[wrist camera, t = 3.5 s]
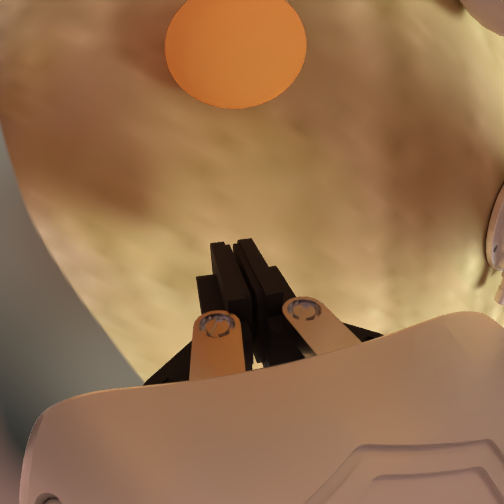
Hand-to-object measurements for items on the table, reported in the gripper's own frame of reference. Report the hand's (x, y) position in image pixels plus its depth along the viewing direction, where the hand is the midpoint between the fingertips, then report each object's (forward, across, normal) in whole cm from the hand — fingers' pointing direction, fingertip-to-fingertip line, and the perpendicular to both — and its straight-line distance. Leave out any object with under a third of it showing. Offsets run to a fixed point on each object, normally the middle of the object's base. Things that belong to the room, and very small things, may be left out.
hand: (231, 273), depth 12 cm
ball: (+3, -1, -10) cm, 10 cm away
